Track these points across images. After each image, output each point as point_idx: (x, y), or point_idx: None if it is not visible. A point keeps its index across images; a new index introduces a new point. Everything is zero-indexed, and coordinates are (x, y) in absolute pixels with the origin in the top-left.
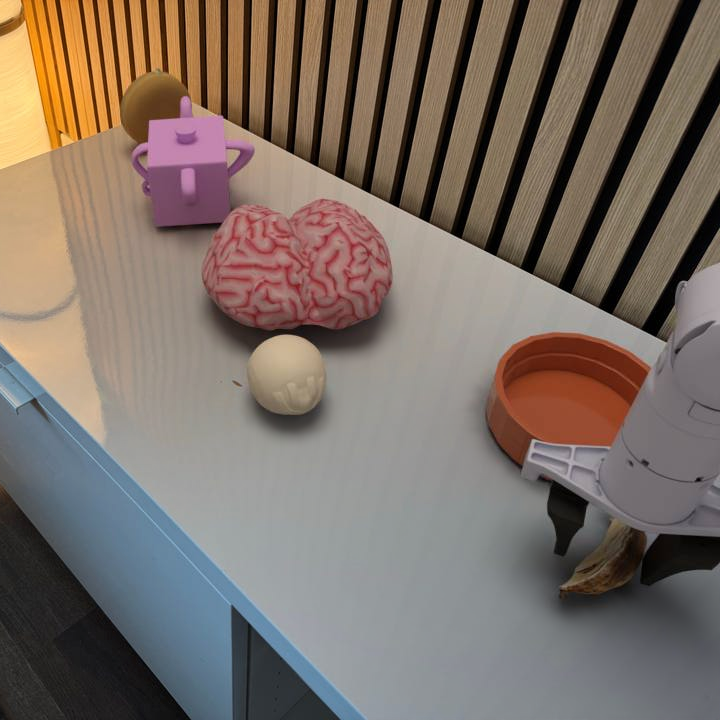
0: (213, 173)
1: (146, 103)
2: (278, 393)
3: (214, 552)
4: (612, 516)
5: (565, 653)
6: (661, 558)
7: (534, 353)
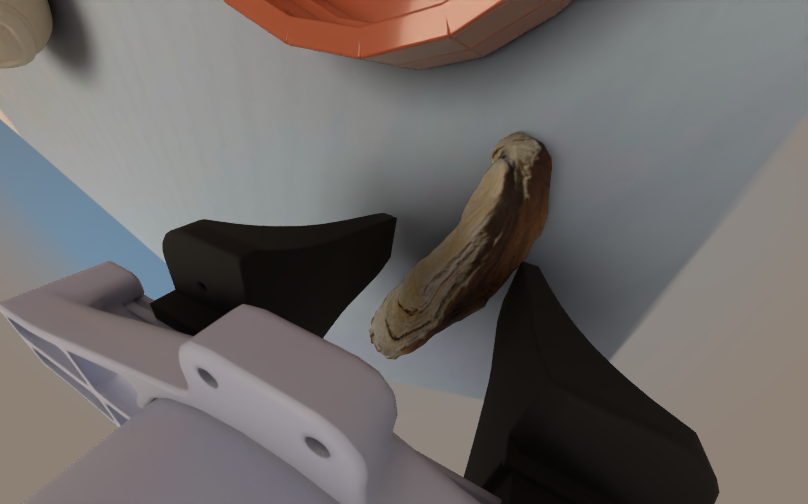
0: None
1: None
2: None
3: (142, 240)
4: (499, 144)
5: None
6: (494, 375)
7: None
